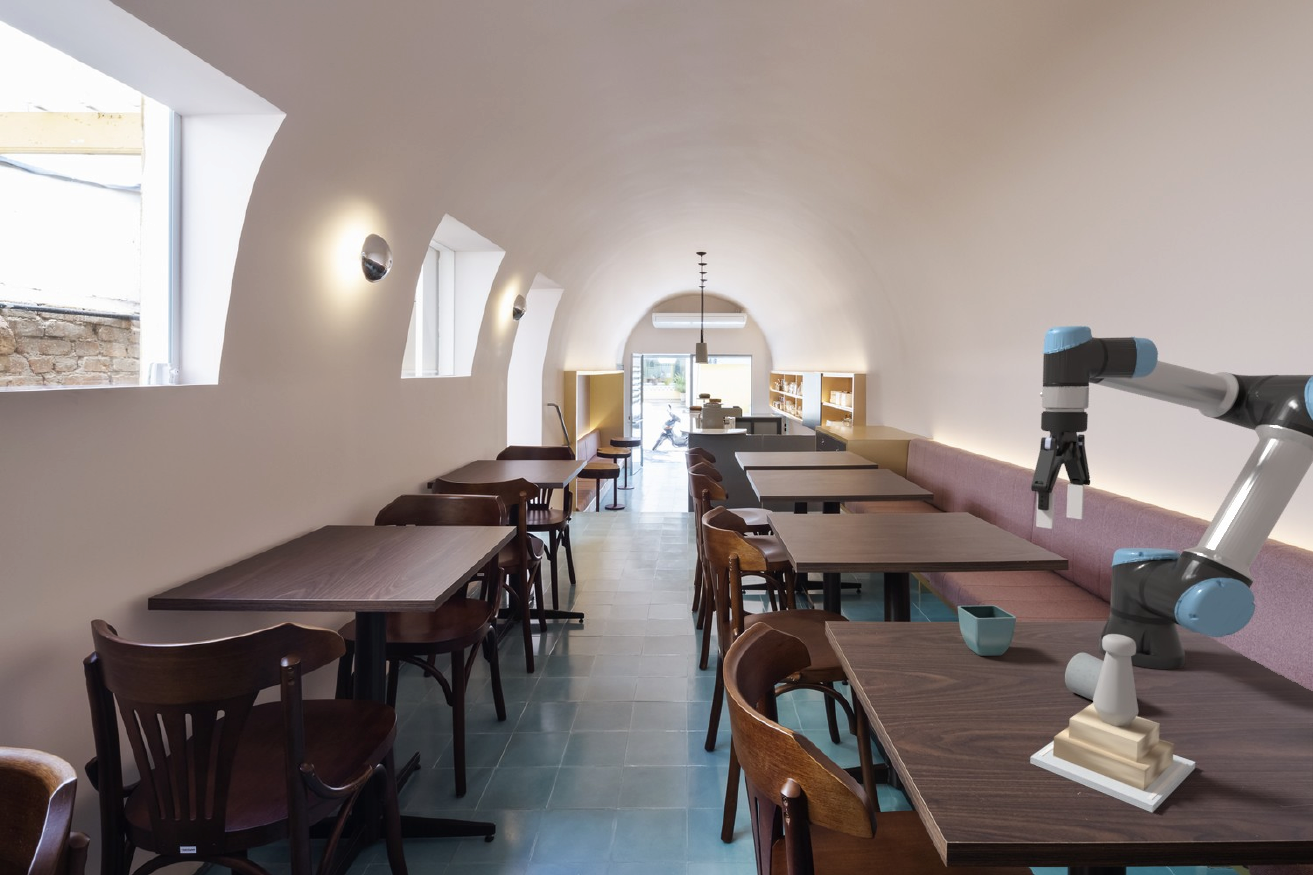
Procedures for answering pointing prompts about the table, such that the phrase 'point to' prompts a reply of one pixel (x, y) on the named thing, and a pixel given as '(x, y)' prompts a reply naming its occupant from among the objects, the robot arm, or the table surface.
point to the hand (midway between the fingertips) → (1060, 522)
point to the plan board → (1114, 788)
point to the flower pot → (986, 628)
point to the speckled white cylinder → (1083, 674)
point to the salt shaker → (1116, 682)
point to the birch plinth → (1115, 762)
